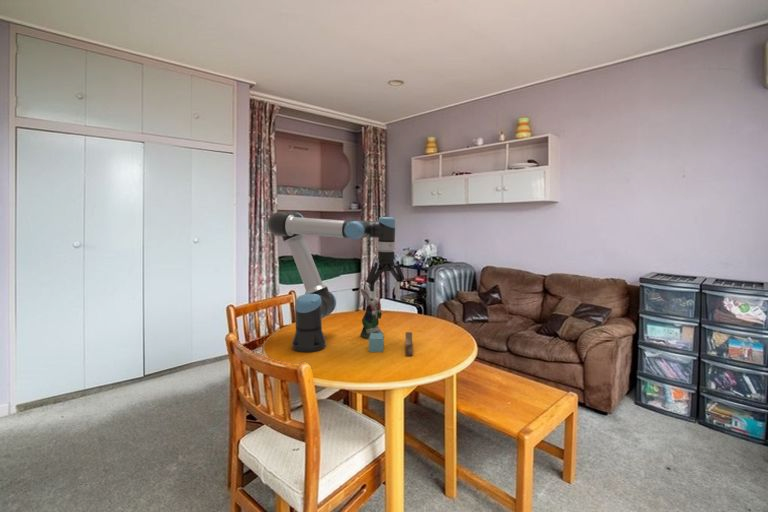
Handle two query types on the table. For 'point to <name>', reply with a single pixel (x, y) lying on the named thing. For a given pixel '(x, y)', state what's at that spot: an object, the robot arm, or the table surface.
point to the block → (376, 342)
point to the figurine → (370, 314)
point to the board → (408, 344)
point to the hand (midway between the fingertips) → (385, 296)
